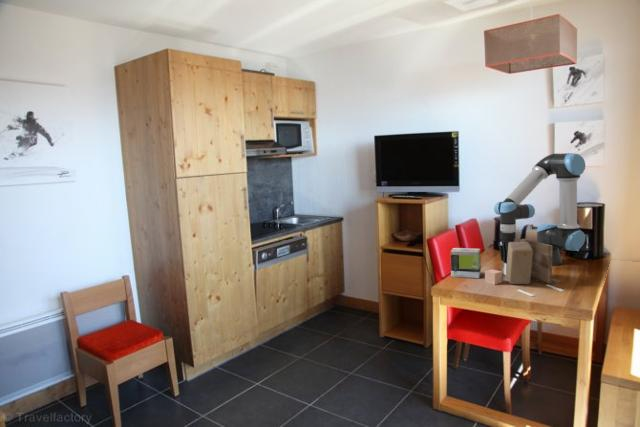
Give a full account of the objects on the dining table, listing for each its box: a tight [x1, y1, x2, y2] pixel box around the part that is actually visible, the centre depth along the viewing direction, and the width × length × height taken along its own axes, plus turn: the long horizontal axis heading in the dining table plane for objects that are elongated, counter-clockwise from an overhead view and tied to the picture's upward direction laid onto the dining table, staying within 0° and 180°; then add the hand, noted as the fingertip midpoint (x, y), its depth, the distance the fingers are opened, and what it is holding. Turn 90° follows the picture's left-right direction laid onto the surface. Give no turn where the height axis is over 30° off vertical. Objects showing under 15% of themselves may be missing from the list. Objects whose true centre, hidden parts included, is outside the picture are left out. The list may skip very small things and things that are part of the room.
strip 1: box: [516, 288, 535, 297], centre depth 216 cm, size 2×10×1 cm, turn 17°
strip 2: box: [545, 284, 565, 292], centre depth 221 cm, size 2×10×1 cm, turn 17°
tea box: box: [450, 247, 482, 279], centre depth 249 cm, size 15×10×15 cm
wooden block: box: [505, 241, 533, 285], centre depth 229 cm, size 10×10×20 cm
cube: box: [484, 269, 503, 285], centre depth 235 cm, size 6×6×6 cm
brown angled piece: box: [519, 238, 561, 285], centre depth 236 cm, size 8×20×20 cm, turn 17°
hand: (507, 274), depth 240 cm, fingers closed
